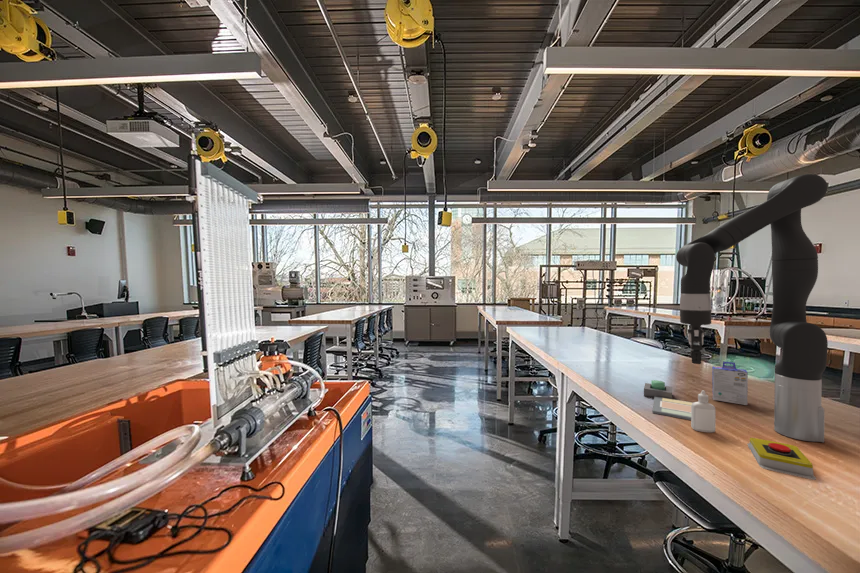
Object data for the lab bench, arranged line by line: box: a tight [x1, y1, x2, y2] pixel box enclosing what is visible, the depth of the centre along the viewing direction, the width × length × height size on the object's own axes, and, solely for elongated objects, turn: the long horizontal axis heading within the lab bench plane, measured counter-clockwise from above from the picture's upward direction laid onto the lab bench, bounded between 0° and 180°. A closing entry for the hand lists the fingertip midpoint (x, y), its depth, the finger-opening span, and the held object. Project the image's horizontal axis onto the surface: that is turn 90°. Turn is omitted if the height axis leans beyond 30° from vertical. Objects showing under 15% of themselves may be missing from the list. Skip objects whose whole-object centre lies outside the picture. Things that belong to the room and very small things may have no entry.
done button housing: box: [643, 382, 673, 399], centre depth 132 cm, size 9×9×3 cm
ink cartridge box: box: [711, 361, 749, 406], centre depth 125 cm, size 10×6×14 cm, turn 53°
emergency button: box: [746, 437, 817, 481], centre depth 83 cm, size 9×4×15 cm
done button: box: [650, 379, 666, 390], centre depth 132 cm, size 4×4×3 cm
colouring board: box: [651, 396, 694, 421], centre depth 117 cm, size 14×18×1 cm
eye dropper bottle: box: [690, 389, 717, 433], centre depth 100 cm, size 4×6×12 cm
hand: (695, 360), depth 102 cm, fingers open, 8 cm apart
